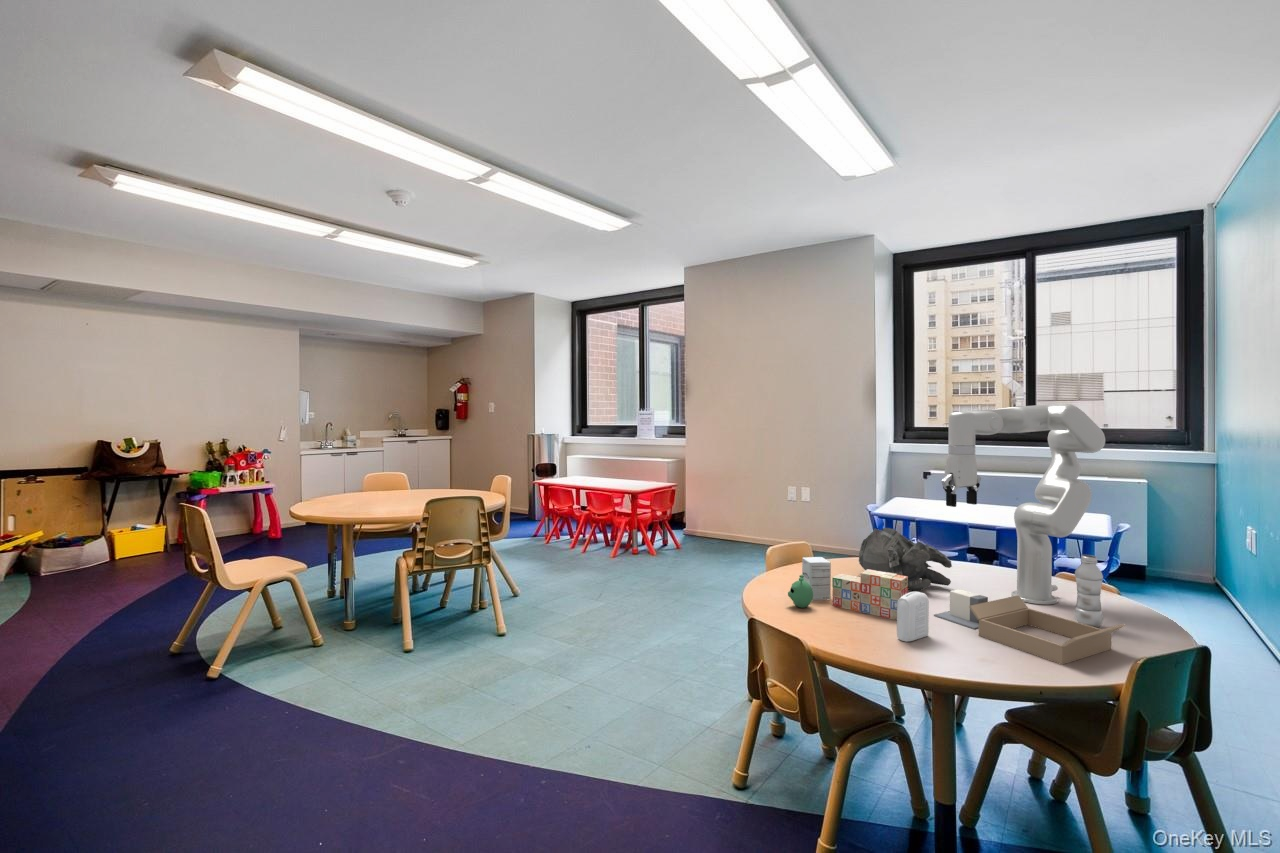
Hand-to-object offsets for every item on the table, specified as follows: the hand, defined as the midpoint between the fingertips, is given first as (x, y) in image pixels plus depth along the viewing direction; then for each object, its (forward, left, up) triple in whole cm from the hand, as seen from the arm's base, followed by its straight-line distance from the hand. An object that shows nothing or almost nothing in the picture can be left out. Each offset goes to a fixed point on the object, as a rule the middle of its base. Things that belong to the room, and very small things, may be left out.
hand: (961, 505), depth 192 cm
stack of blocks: (+29, -10, -33) cm, 45 cm away
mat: (+9, +9, -32) cm, 35 cm away
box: (+9, +9, -32) cm, 34 cm away
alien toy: (+46, -22, -32) cm, 60 cm away
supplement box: (+34, -28, -32) cm, 55 cm away
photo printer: (+36, +12, -32) cm, 50 cm away
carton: (+8, +30, -32) cm, 45 cm away
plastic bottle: (-17, +28, -32) cm, 46 cm away
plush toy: (-6, -27, -33) cm, 43 cm away
